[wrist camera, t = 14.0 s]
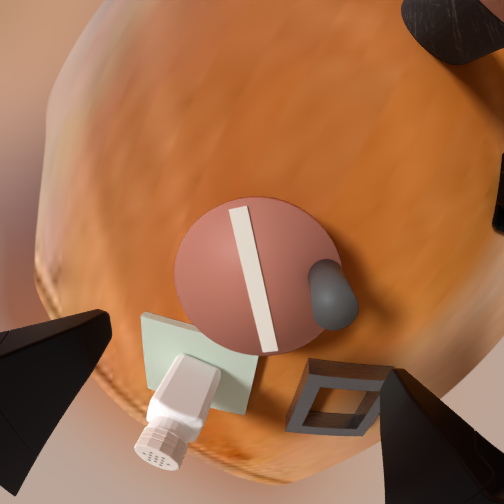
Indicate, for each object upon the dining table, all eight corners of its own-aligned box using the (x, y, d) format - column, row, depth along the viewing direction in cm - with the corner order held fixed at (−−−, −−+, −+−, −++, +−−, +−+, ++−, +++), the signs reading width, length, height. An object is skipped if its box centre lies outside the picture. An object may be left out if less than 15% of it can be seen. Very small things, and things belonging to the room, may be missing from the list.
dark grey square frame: (393, 366, 20) (399, 381, 18) (360, 421, 22) (362, 436, 20) (308, 358, 20) (309, 374, 19) (286, 416, 23) (285, 431, 21)
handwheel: (345, 334, 17) (358, 387, 12) (205, 350, 19) (182, 399, 14) (327, 182, 14) (345, 187, 9) (164, 215, 16) (116, 235, 11)
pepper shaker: (171, 377, 22) (127, 455, 13) (180, 348, 21) (128, 433, 12) (211, 394, 22) (180, 478, 13) (225, 367, 21) (191, 461, 12)
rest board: (262, 339, 20) (260, 345, 20) (246, 409, 23) (244, 415, 22) (145, 311, 21) (140, 315, 21) (150, 383, 24) (147, 388, 23)
